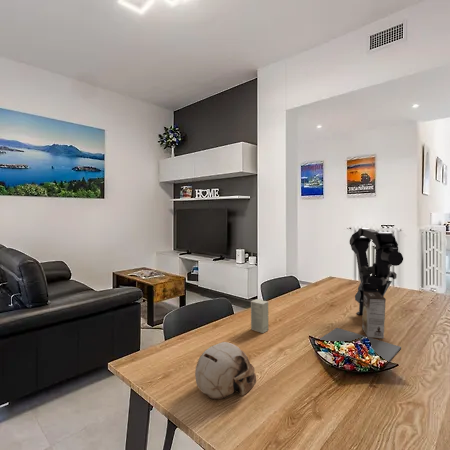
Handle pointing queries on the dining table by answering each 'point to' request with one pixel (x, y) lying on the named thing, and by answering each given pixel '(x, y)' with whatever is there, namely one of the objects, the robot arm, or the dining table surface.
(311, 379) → the dining table surface
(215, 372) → the coin bank
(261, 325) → the skincare box
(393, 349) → the mat
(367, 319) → the coffee box
